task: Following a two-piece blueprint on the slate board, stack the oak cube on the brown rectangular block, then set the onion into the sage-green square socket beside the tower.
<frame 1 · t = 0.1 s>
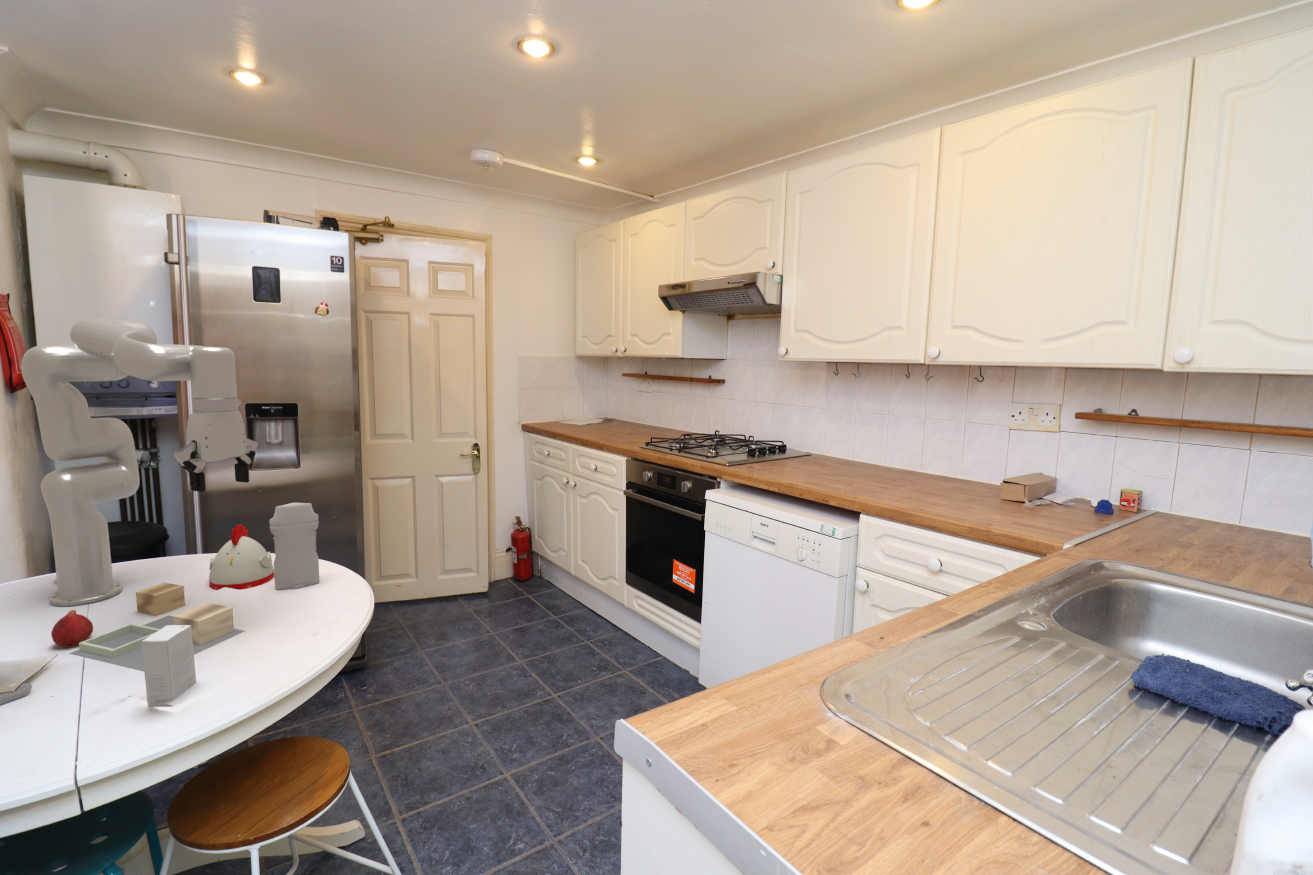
hand: (221, 486, 126), 31 cm above the table, fingers open, 9 cm apart
board: (161, 647, 119), on the table
brown rectangular block: (205, 634, 123), resting on board
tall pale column: (297, 586, 152), on the table
skincare box: (172, 698, 103), on the table
cube: (162, 614, 134), on the table
kitchen timer: (242, 581, 155), on the table
socket: (123, 643, 118), resting on board
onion: (74, 649, 118), on the table
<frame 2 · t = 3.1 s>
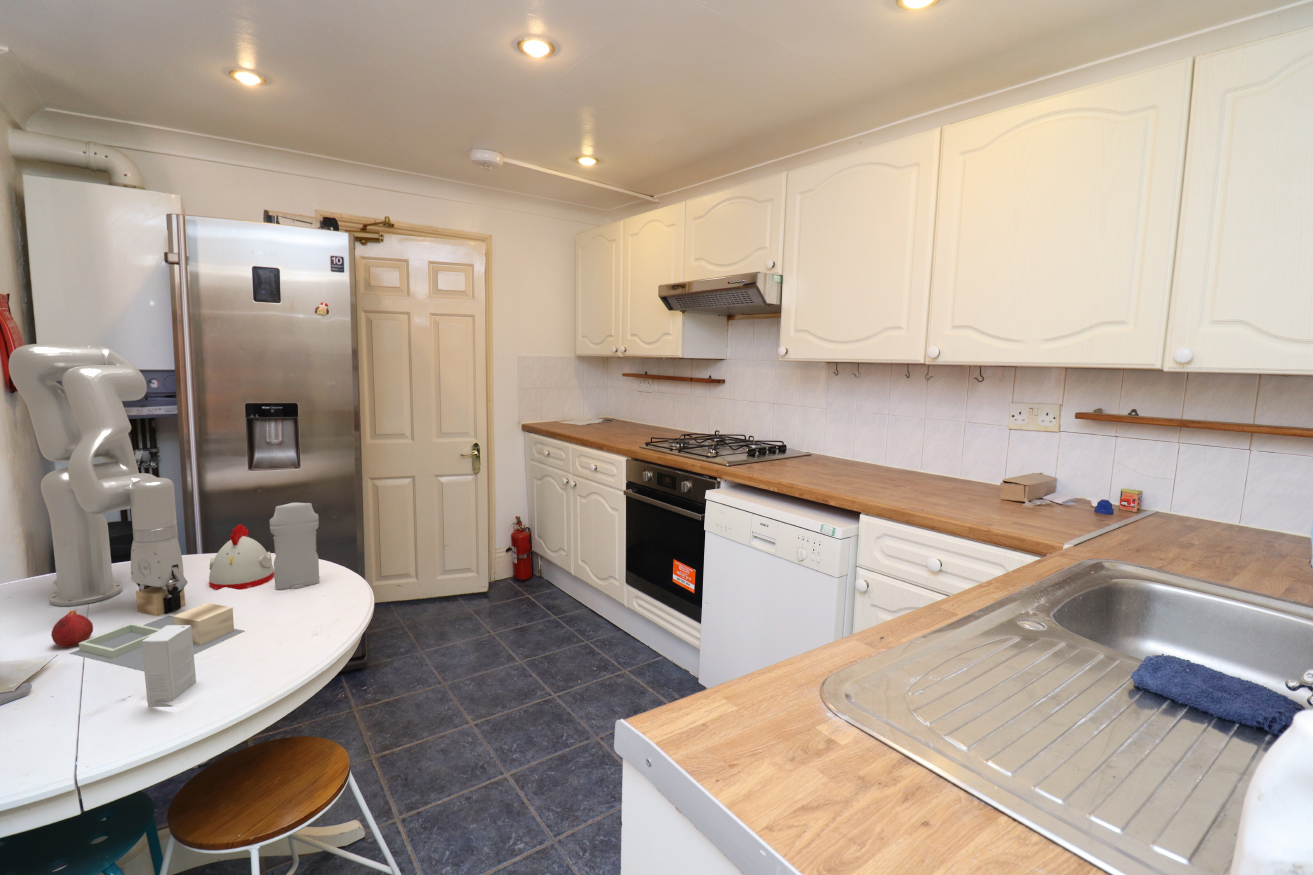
hand: (162, 609, 134), 1 cm above the table, fingers closed on cube, 6 cm apart
cube: (162, 613, 134), on the table, touching gripper
everything else where it was.
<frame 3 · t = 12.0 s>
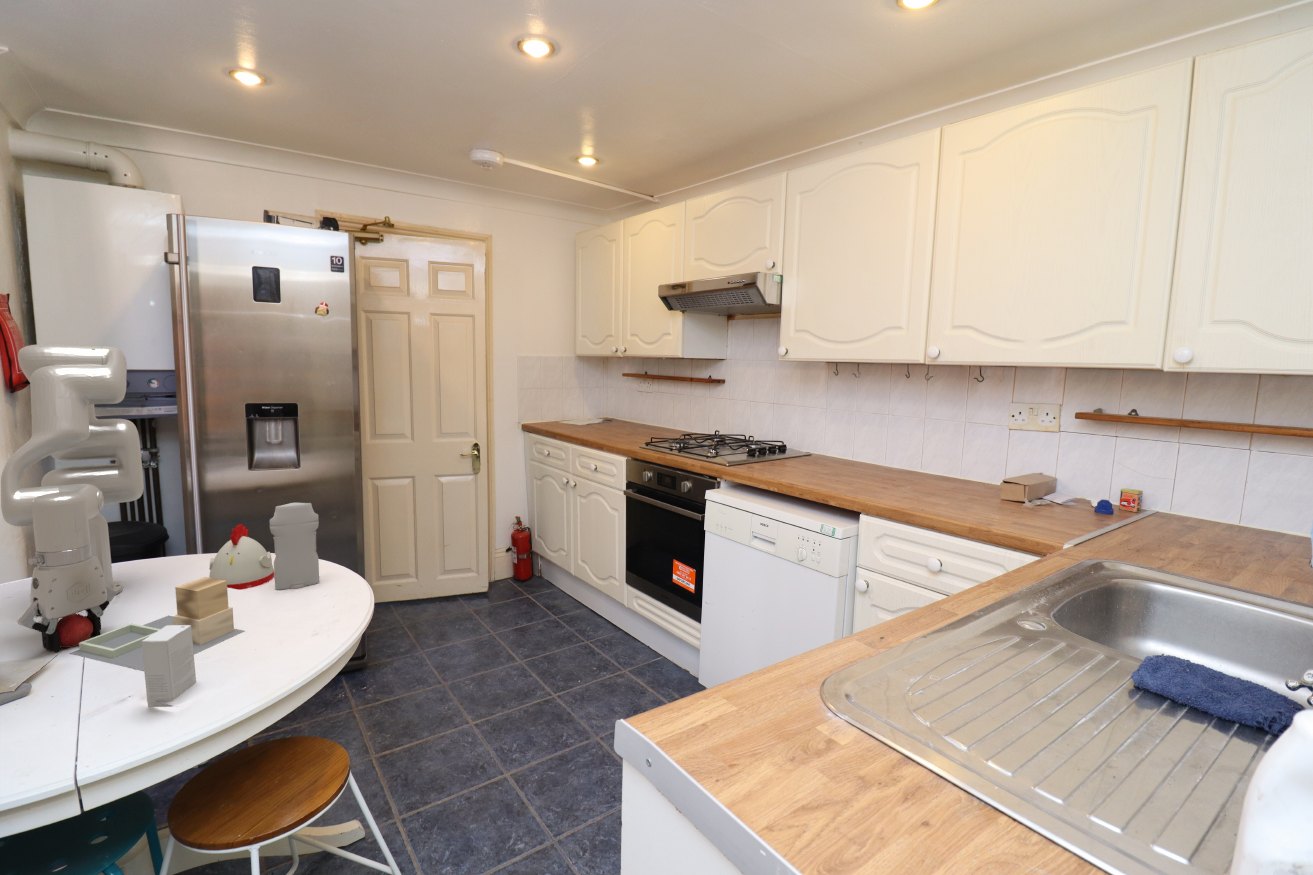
hand: (73, 641, 117), 1 cm above the table, fingers closed on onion, 5 cm apart
cube: (203, 611, 122), point 6 cm above the table, touching brown rectangular block
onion: (74, 649, 118), on the table, touching gripper
everything else where it was.
when the fingers open (4 cm above the table, at t = 16.2 s): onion drops 2 cm, resting on board.
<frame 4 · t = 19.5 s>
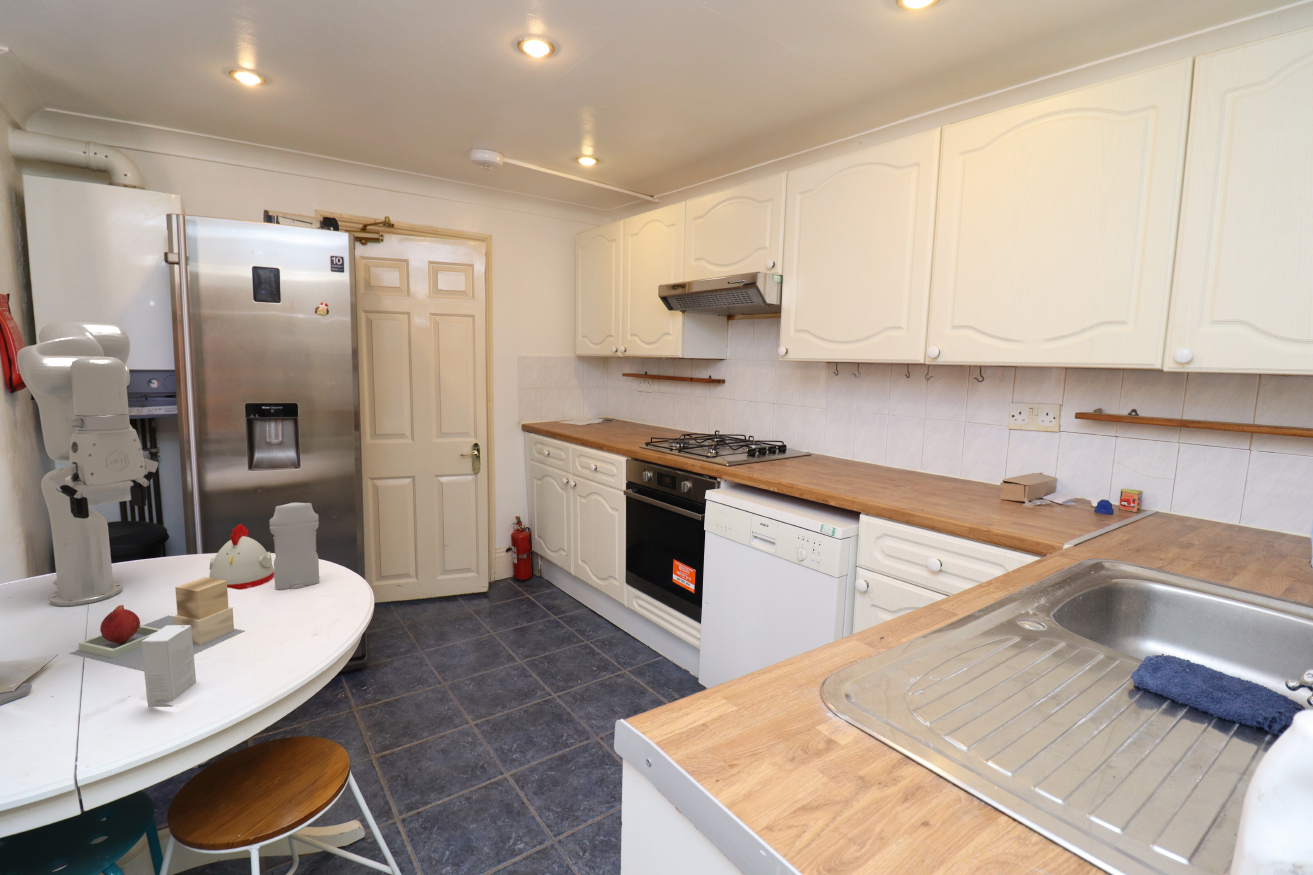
hand: (111, 511, 114), 28 cm above the table, fingers open, 9 cm apart
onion: (122, 644, 118), point 1 cm above the table, touching board
everything else where it was.
at the end: cube 0.0 cm off-centre on the brown rectangular block, point 5.0 cm above the brown rectangular block's base; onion 0.2 cm from the socket (horizontally); the gripper is holding nothing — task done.
